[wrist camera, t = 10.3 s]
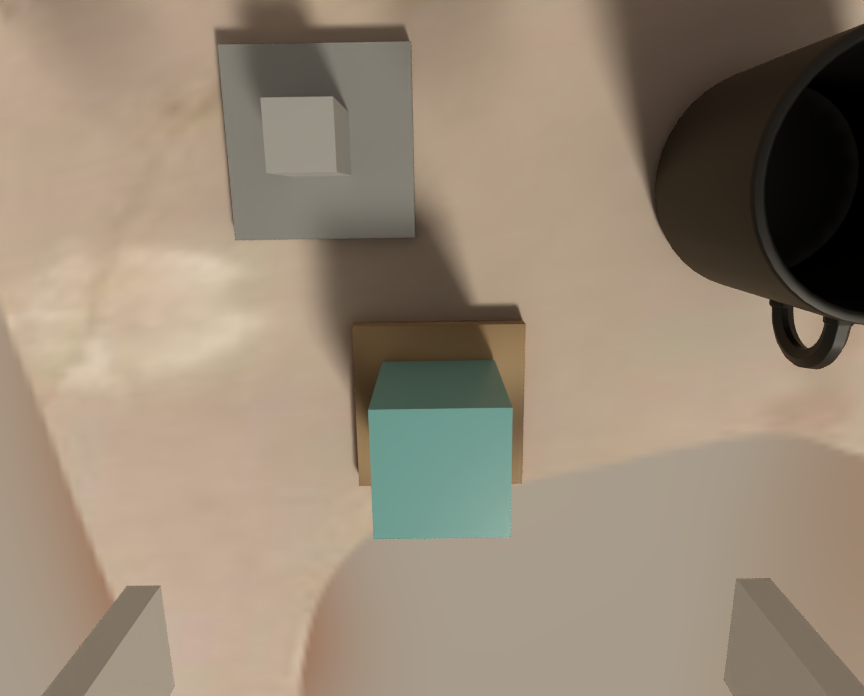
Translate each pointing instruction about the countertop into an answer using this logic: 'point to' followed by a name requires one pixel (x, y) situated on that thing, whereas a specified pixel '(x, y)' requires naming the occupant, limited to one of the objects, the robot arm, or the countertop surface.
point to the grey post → (319, 139)
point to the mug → (777, 189)
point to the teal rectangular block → (440, 450)
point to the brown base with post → (438, 345)
